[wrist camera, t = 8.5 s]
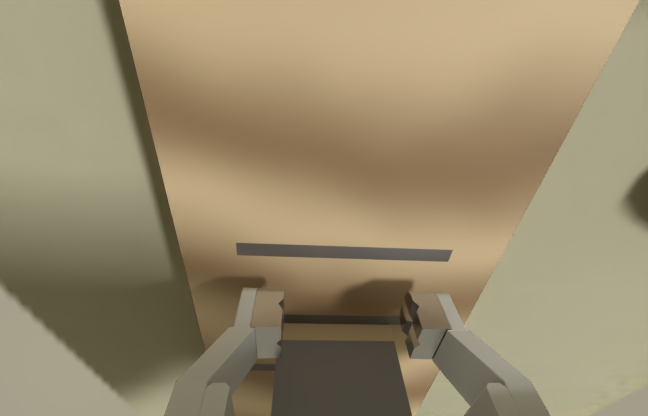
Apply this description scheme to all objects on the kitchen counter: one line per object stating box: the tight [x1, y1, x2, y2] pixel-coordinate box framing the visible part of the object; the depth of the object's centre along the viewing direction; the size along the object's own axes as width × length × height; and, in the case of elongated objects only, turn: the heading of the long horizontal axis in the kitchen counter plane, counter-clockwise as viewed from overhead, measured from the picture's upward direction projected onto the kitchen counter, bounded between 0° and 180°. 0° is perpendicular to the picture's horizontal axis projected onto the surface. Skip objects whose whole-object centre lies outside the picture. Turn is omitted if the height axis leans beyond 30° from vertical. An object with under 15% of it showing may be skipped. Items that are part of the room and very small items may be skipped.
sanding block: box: [271, 323, 412, 416], centre depth 14 cm, size 8×5×4 cm, turn 176°
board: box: [119, 0, 640, 416], centre depth 13 cm, size 25×12×1 cm, turn 176°
